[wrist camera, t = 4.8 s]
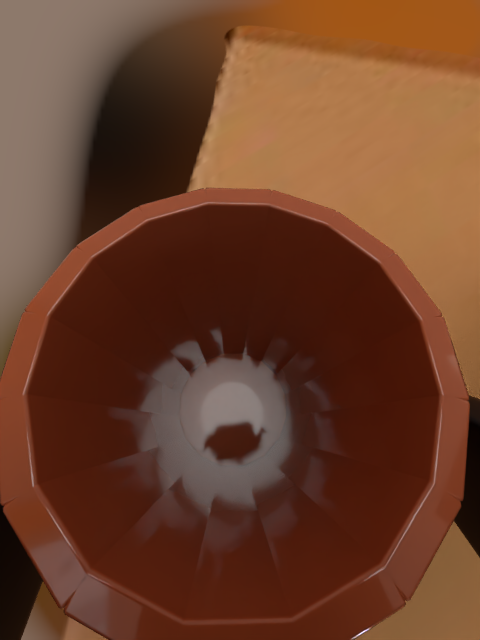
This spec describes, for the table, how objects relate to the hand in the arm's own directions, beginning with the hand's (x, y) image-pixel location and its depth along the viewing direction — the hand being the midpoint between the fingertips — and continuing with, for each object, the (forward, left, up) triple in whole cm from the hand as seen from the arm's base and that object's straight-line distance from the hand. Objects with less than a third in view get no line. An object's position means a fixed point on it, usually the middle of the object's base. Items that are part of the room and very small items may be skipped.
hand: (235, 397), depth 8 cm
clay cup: (0, 0, -8) cm, 8 cm away
